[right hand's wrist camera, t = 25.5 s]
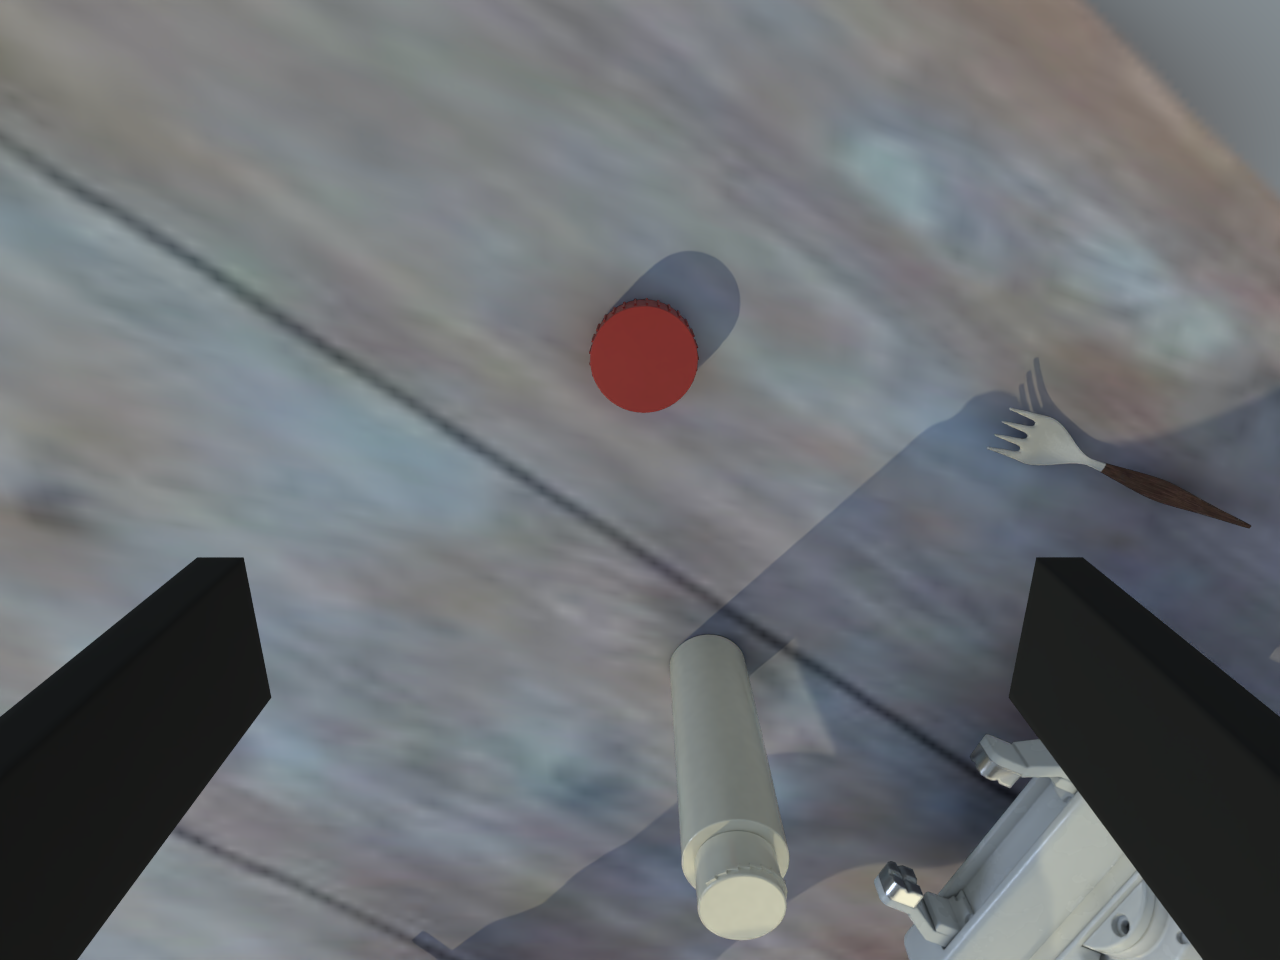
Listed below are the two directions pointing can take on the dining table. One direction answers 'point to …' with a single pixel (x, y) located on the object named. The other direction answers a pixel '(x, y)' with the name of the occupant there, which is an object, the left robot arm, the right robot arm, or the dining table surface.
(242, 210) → the dining table surface
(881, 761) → the dining table surface
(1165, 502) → the fork
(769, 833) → the jar
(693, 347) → the lid
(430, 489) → the dining table surface
